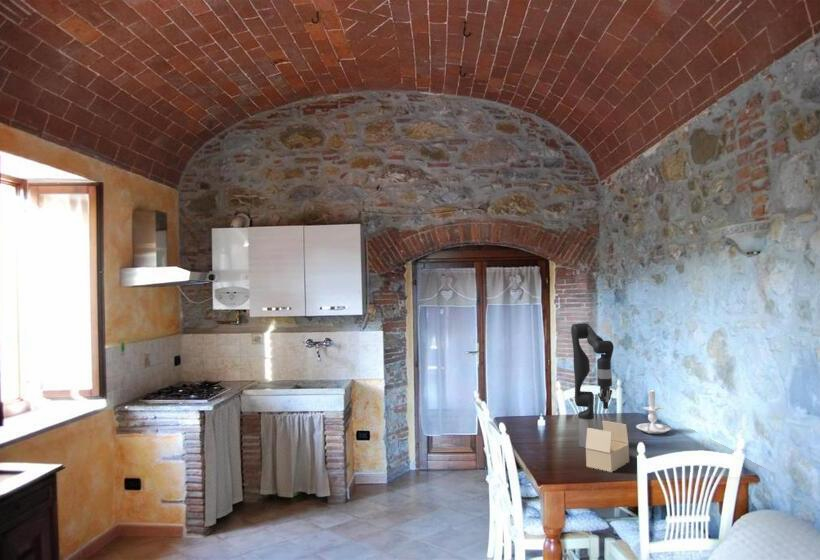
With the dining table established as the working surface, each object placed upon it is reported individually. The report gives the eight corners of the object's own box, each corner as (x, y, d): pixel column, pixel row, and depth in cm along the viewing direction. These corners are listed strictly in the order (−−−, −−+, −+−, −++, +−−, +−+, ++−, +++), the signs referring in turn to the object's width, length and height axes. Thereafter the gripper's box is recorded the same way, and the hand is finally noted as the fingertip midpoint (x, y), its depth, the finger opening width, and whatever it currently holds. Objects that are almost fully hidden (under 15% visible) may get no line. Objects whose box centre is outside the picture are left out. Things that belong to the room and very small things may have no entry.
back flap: (604, 438, 300) (604, 438, 300) (628, 443, 290) (628, 442, 291) (602, 420, 299) (602, 420, 299) (625, 424, 289) (626, 424, 289)
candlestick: (631, 435, 339) (629, 392, 340) (640, 426, 359) (638, 385, 360) (665, 440, 327) (663, 395, 327) (673, 430, 347) (671, 388, 347)
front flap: (587, 427, 287) (587, 427, 286) (611, 431, 277) (611, 431, 277) (586, 447, 285) (585, 447, 284) (610, 453, 275) (609, 452, 275)
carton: (604, 456, 300) (604, 439, 300) (629, 461, 290) (628, 443, 290) (586, 466, 285) (585, 448, 285) (611, 472, 275) (610, 453, 275)
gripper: (603, 374, 295) (604, 405, 295) (592, 378, 286) (593, 409, 286) (616, 376, 290) (617, 407, 290) (605, 379, 281) (606, 411, 280)
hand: (605, 408), depth 288 cm, fingers closed
